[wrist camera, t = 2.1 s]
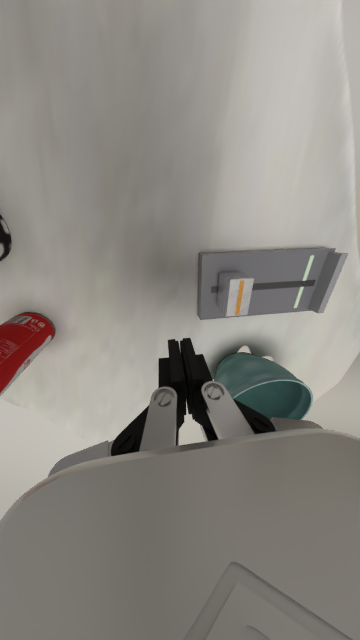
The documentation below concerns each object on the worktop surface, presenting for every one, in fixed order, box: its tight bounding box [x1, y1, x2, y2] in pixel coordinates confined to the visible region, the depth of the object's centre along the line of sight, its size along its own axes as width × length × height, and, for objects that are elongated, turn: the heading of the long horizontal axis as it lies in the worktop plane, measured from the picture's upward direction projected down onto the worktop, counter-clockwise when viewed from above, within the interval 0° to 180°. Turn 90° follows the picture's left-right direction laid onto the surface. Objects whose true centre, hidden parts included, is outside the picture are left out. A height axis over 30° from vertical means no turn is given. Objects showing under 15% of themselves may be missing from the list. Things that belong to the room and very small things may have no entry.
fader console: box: [198, 248, 348, 320], centre depth 25 cm, size 10×20×4 cm, turn 92°
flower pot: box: [214, 352, 313, 420], centre depth 31 cm, size 16×16×11 cm
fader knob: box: [217, 272, 254, 317], centre depth 23 cm, size 5×3×4 cm, turn 2°
